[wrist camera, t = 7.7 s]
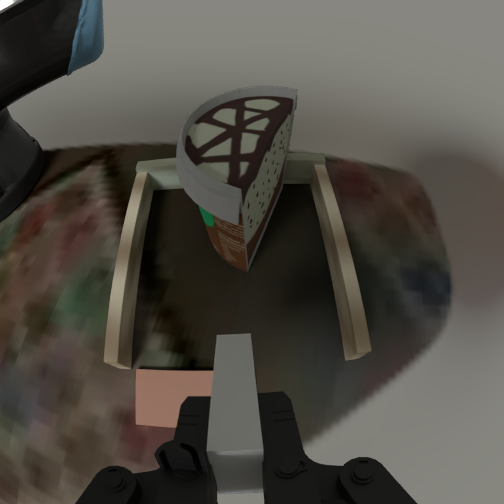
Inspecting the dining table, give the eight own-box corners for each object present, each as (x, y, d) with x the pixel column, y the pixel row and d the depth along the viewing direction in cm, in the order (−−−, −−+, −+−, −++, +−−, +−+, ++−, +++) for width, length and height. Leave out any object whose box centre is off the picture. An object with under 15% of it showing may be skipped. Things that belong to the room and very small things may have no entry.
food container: (227, 163, 29) (223, 74, 20) (286, 178, 28) (299, 86, 19) (167, 263, 22) (128, 171, 14) (240, 289, 21) (236, 198, 13)
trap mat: (137, 369, 18) (136, 369, 18) (252, 370, 18) (252, 369, 18) (137, 424, 16) (136, 424, 16) (256, 427, 16) (256, 427, 16)
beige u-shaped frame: (145, 184, 27) (137, 161, 24) (317, 176, 28) (323, 153, 25) (118, 368, 18) (100, 360, 15) (358, 358, 19) (374, 349, 16)
